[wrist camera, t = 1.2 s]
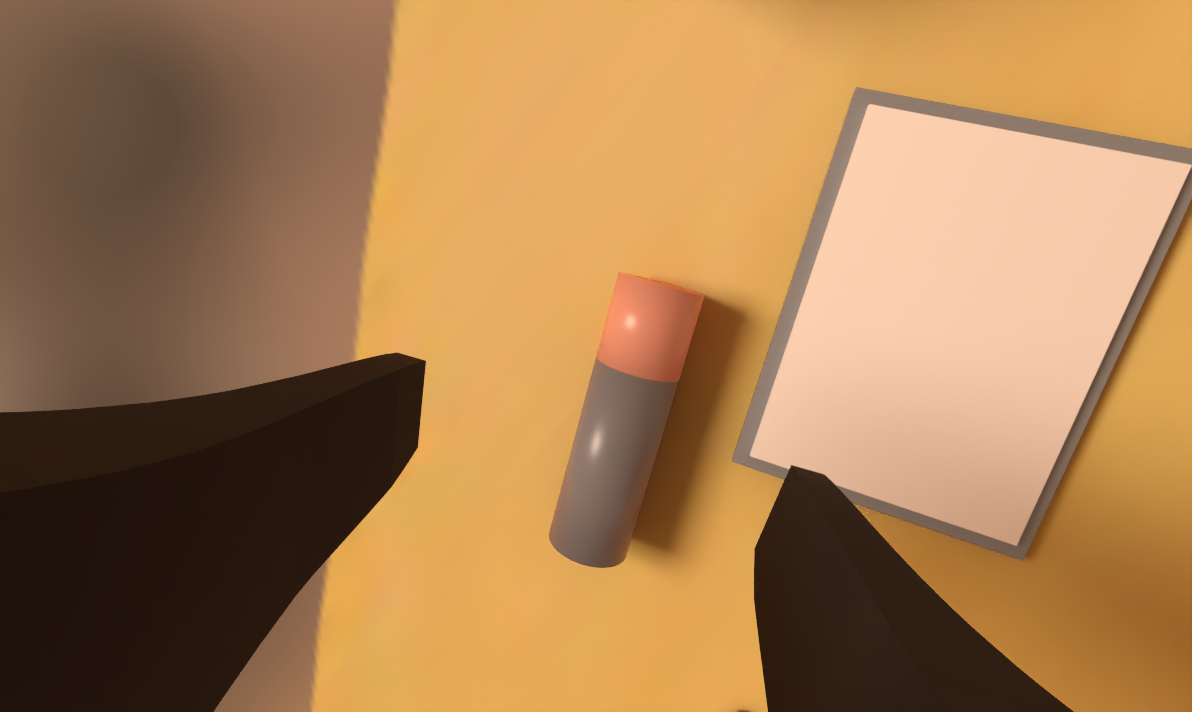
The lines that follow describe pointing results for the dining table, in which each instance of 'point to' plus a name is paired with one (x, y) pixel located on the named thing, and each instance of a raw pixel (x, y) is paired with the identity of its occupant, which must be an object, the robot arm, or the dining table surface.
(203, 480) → the robot arm
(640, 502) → the marker
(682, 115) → the dining table surface
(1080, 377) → the notepad
